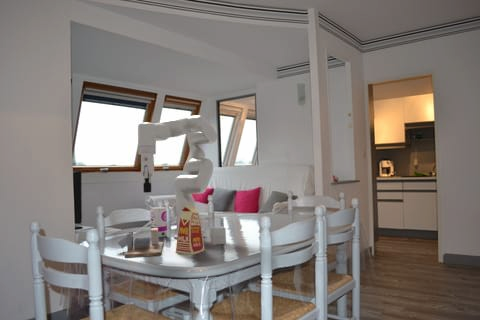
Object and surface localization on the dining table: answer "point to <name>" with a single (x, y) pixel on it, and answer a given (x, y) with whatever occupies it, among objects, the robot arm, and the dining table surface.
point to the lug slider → (154, 235)
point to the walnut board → (146, 251)
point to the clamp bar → (124, 241)
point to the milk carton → (190, 232)
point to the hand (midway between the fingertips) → (147, 192)
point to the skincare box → (218, 235)
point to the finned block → (141, 243)
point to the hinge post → (129, 241)
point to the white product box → (159, 220)
